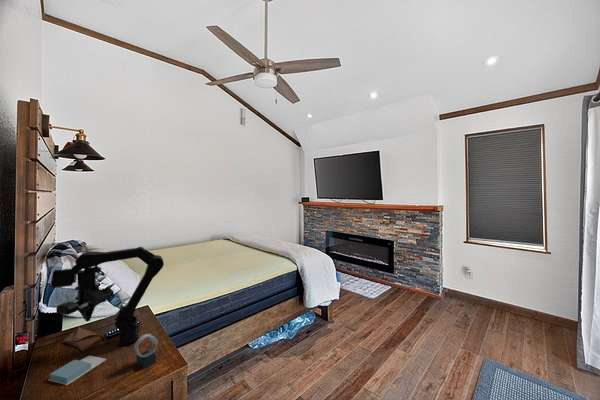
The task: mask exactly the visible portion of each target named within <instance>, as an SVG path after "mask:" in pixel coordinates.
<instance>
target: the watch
mask: <svg viewBox="0 0 600 400" xmlns="http://www.w3.org/2000/svg"><path fill="white" fill-rule="evenodd" d="M145 339H147V340H148V341H149V343H151V344H152V346H151V348H150V349H147V350H146V351H143V352H140V350H139V345H140V344H141V342H143V340H145ZM158 343H159V340H158V339H157V338H156V336H154V335H152V333H145V334H143V335H141V336H140V338H139V339H138V340H137V341H136V342H135V343H134V347H133V351H134V353H135V354H136V364H137V365H139V367H140V368H142V369H143V370H146V369H147V368H149V367H151V366H152V365H155V364H156V363H157V361H156V360H157V359H156V358H157V356H156V354H155V353H154V352H155V350H156V349H157V346H158Z"/></svg>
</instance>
